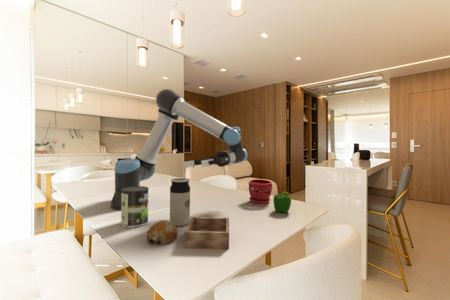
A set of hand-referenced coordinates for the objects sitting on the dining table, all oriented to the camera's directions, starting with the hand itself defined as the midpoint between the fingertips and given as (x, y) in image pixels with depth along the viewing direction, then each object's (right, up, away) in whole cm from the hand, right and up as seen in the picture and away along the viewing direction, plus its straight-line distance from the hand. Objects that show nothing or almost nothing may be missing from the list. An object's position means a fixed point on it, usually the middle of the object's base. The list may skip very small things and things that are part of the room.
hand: (191, 164), depth 97 cm
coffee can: (-22, -23, -7) cm, 33 cm away
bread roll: (-7, -24, -22) cm, 33 cm away
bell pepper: (+42, -24, +11) cm, 50 cm away
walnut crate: (+9, -24, -21) cm, 33 cm away
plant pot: (+34, -23, +28) cm, 50 cm away
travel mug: (-4, -24, -6) cm, 25 cm away
